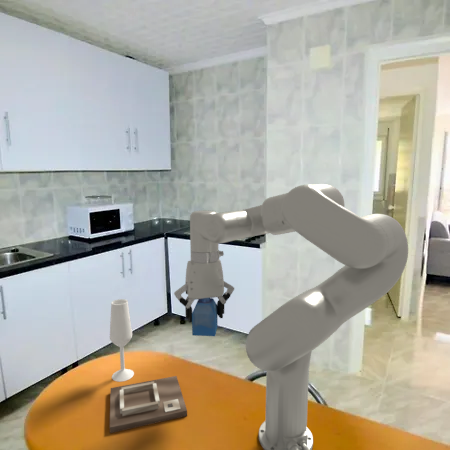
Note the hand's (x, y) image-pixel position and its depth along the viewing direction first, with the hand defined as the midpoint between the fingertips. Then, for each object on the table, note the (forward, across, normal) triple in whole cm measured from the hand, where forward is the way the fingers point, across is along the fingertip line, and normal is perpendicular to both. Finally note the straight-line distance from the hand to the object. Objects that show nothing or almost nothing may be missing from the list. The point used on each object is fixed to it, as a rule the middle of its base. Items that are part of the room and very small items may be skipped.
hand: (205, 318), depth 92 cm
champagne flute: (+23, +23, -17) cm, 36 cm away
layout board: (+23, +16, -1) cm, 28 cm away
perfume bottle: (+4, 0, 0) cm, 4 cm away
